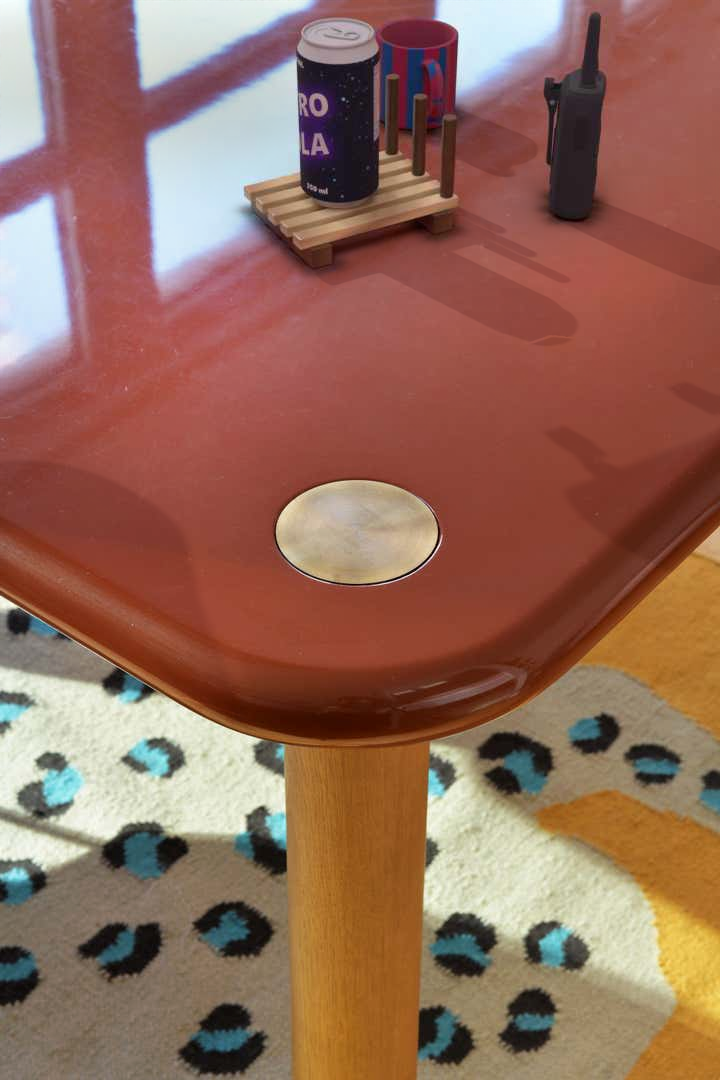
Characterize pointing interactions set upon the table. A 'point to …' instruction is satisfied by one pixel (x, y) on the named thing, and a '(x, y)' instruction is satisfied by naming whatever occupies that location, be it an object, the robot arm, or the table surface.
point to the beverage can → (338, 111)
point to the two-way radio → (576, 131)
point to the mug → (419, 67)
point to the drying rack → (393, 201)
